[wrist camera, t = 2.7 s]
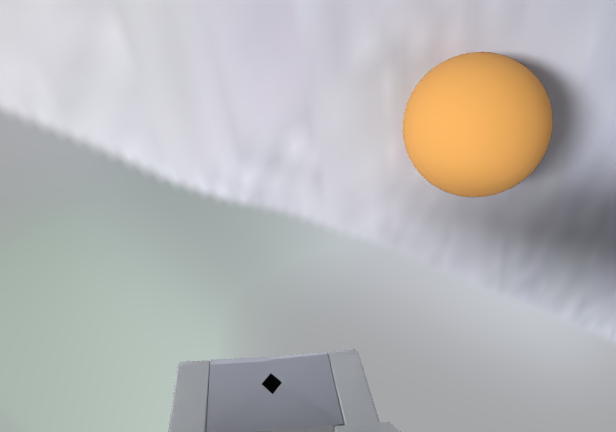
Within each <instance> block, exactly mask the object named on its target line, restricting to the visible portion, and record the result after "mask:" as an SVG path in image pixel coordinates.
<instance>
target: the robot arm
mask: <svg viewBox="0 0 616 432" xmlns="http://www.w3.org/2000/svg"><path fill="white" fill-rule="evenodd" d="M168 432H401V431H399V430H398V429H397V428H396V427H394V426H393V425H392V424H391V423H390V422H380V421H379V418H378V415H377V412H376V408H375V405H374V402H373V399H372V396H371V392H370V389H369V386H368V382H367V379H366V376H365V373H364V369H363V366H362V363H361V360H360V357H359V353H358V352H357V351H356V350H355V349H354V350H344V351H332V352H327V353H314V354H301V355H289V356H275V357H260V358H238V359H217V360H211V361H190V362H189V361H187V362H180V363H179V365H178V367H177V371H176V379H175V386H174V393H173V401H172V409H171V416H170V424H169V431H168Z"/></svg>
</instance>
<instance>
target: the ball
mask: <svg viewBox="0 0 616 432" xmlns="http://www.w3.org/2000/svg"><path fill="white" fill-rule="evenodd" d="M552 128H553V117H552V108H551V104H550V100H549V97H548V95H547V93H546V91H545V88H544V87H543V85H542V84H541V82H540V81H539V79H538V78H537V77H536V76H535V75H534V74H533V73H532V72H531V71H530V70H529V69H528V68H527V67H526V66H524V65H523V64H521V63H519V62H517V61H516V60H514V59H512V58H509V57H507V56H504V55H500V54H496V53H490V52H475V53H467V54H462V55H459V56H456V57H453V58H450V59H448V60H446V61H444V62H442V63H441V64H439V65H438V66H436V67H435V68H433V69H432V70H431V71H430V72H428V73H427V74H426V75H425V76H424V77H423V78H422V79H421V81H420V82H419V83H418V85H417V86H416V87H415V89H414V91H413V92H412V94H411V96H410V98H409V101H408V103H407V106H406V109H405V114H404V120H403V137H404V142H405V146H406V150H407V153H408V155H409V158H410V159H411V161H412V163H413V164H414V166H415V168H416V169H417V170H418V172H419V173H420V174H421V175H422V176H423V177H424V178H425V179H426V180H427V181H429V182H430V183H431V184H433V185H434V186H436V187H437V188H439V189H441V190H443V191H446V192H448V193H451V194H455V195H459V196H465V197H483V196H490V195H495V194H498V193H501V192H503V191H505V190H508V189H510V188H512V187H514V186H515V185H517V184H519V183H520V182H521V181H523V180H524V179H525V178H526V177H527V176H529V175H530V174H531V173H532V172H533V170H534V169H535V168H536V167H537V166H538V164H539V163H540V161H541V160H542V158H543V156H544V154H545V152H546V150H547V148H548V145H549V142H550V138H551V134H552Z"/></svg>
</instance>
